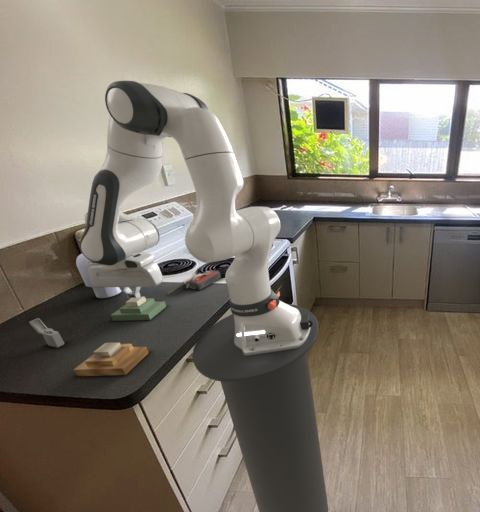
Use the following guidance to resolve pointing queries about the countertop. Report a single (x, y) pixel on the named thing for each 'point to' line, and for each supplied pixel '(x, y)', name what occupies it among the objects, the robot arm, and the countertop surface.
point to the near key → (107, 350)
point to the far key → (136, 302)
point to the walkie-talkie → (199, 281)
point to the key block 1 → (139, 311)
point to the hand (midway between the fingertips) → (134, 297)
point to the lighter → (47, 333)
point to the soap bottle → (84, 271)
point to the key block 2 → (112, 362)
